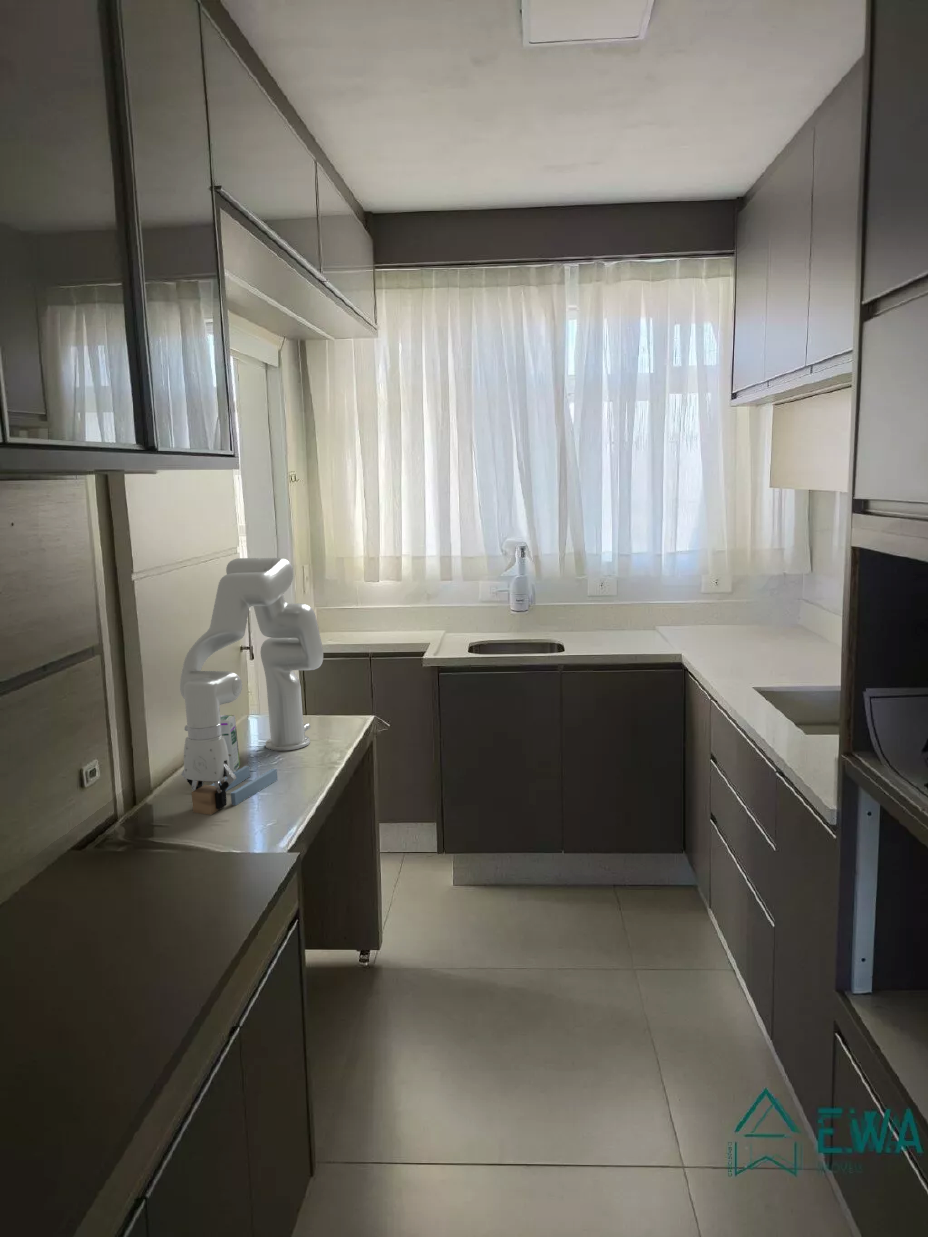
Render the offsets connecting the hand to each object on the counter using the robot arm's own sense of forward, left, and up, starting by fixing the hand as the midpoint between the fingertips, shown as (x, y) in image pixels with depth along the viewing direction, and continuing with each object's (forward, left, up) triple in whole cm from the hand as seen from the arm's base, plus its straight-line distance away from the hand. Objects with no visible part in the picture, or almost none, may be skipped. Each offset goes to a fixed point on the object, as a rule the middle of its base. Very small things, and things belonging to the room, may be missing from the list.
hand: (211, 805), depth 211 cm
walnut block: (+1, 0, -1) cm, 1 cm away
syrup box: (-24, -13, -1) cm, 27 cm away
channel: (-12, 0, -1) cm, 12 cm away
